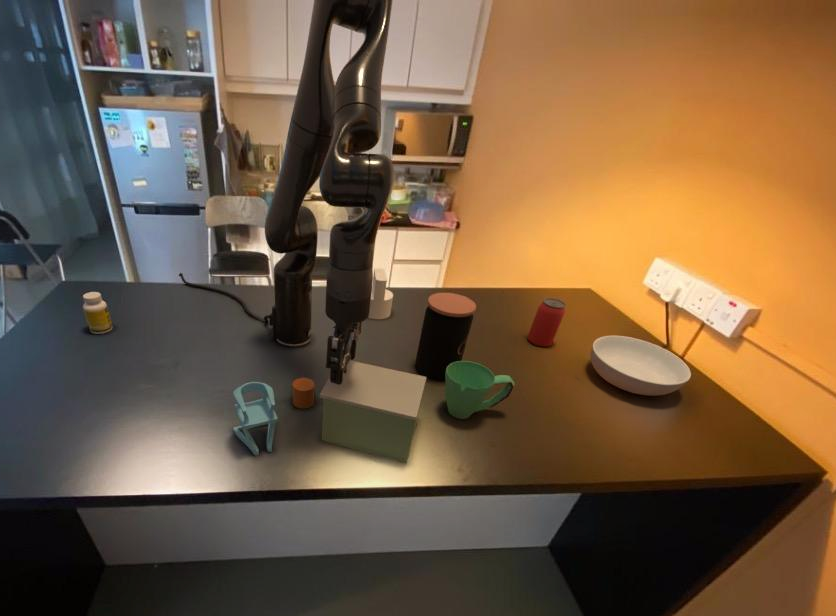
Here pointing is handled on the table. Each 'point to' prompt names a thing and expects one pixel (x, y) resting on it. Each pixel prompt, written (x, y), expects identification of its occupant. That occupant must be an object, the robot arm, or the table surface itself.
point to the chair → (255, 414)
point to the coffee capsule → (303, 393)
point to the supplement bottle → (97, 313)
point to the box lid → (377, 389)
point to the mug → (472, 388)
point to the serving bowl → (638, 365)
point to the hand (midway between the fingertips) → (342, 369)
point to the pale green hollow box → (367, 430)
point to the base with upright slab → (380, 296)
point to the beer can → (546, 322)
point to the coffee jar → (444, 333)
